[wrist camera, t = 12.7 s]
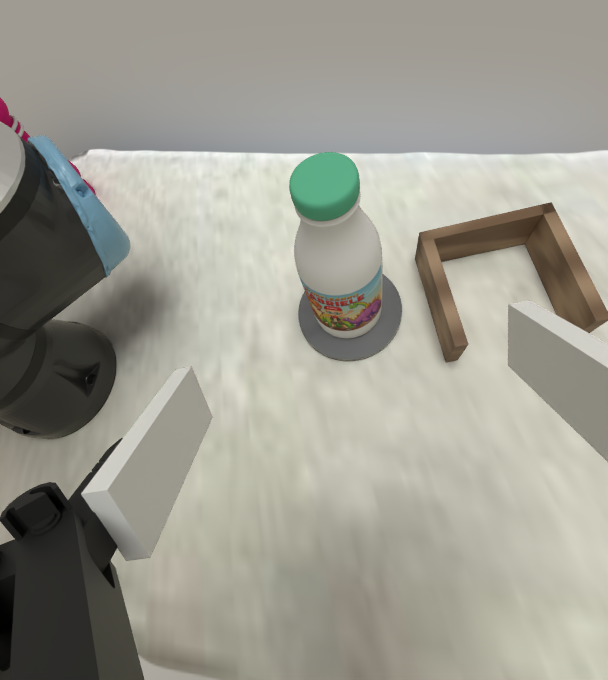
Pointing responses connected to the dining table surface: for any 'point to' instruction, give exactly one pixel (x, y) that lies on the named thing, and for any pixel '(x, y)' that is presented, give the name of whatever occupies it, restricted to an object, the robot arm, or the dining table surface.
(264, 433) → the dining table surface
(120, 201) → the dining table surface
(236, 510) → the dining table surface
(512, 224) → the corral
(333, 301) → the milk bottle
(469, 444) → the dining table surface
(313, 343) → the coaster
